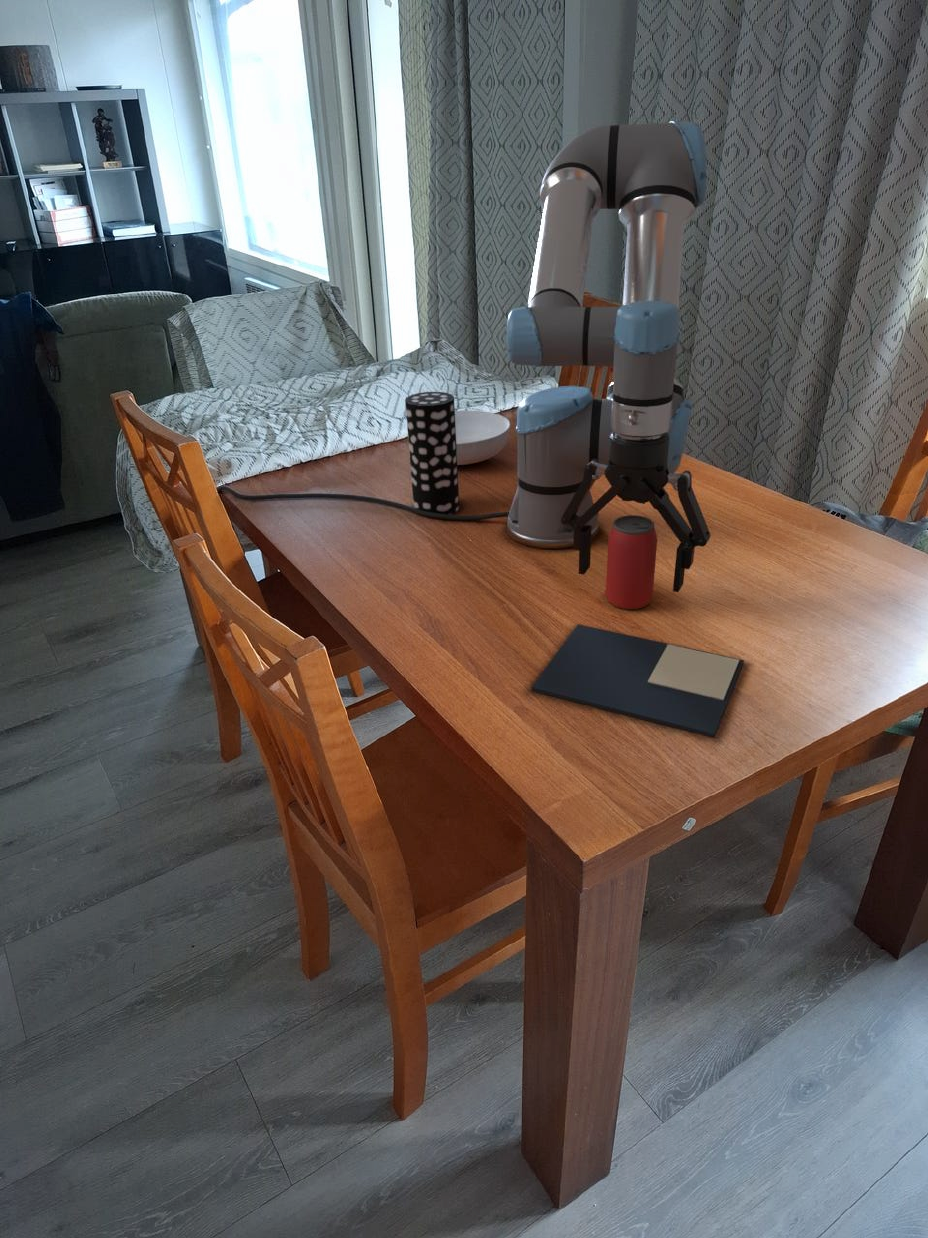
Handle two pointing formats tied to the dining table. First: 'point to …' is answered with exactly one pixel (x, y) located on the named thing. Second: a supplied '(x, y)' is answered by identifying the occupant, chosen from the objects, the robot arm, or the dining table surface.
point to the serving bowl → (479, 435)
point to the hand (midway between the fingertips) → (630, 578)
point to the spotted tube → (433, 451)
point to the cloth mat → (642, 679)
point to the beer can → (631, 562)
